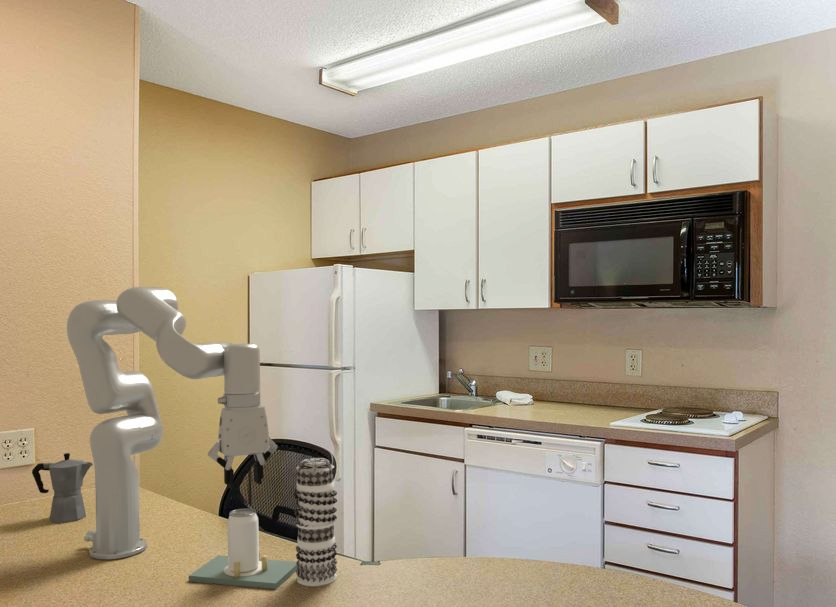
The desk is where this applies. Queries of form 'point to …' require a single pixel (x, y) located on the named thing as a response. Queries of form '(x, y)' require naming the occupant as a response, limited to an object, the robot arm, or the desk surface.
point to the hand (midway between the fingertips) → (244, 484)
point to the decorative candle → (315, 522)
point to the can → (243, 540)
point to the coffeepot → (64, 488)
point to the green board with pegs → (262, 576)
